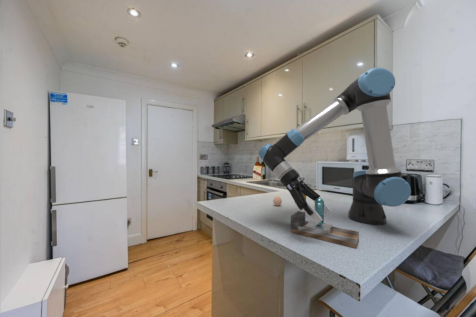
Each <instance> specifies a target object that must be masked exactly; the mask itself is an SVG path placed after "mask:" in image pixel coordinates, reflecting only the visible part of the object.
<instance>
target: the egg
mask: <svg viewBox="0 0 476 317" xmlns="http://www.w3.org/2000/svg"><path fill="white" fill-rule="evenodd" d="M272 201H273V204H274V205H275V206H276V207H279V206H280V205H282V202H283V200H282V197H281V196H279V195H275V196H274V197H273V200H272Z"/></svg>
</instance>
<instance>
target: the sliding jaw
mask: <svg viewBox="0 0 476 317" xmlns="http://www.w3.org/2000/svg"><path fill="white" fill-rule="evenodd" d="M324 204H325V201H324V199H323V198H321V197H319V198H317V199H316V200H315V203H314V210H315V211H316V212H317V213H318V215H319V216H320V217H321V218H322V219H323V220H322V221H320V222H319V223H318V224H316V223H315V222H314V221H313V220H310V221H309V223H308V224H306V228H309V229H314V230H318V231H323V232H327V233H331V231H332V226H333V224H330V223H327V222H326V223H324V222H325V218H324V217H325V214H324Z"/></svg>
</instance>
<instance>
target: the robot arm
mask: <svg viewBox="0 0 476 317" xmlns="http://www.w3.org/2000/svg"><path fill="white" fill-rule="evenodd" d="M395 86H396V78H395V75H394V74H393V72H391V71H390V70H389V69H386V68H384V67H372V68H369V69H368V70H367V71H365V72H363V73H361V74H360V76H359V77H357V78H356V79H355V80H354V81H353V82H351V83H350V84H349V85H348V86H347V87H346V88H345V89H344V90H343V91H342V92H341V93H339V95H337V96H336V97H335V98H333V102H331V103H330V104H329V105H327V106H326V107H324V108H323V109H321V110H320V111H319V112H316V113H315V114H314V115H312V116H311V117H310V118H309V119H307V120H306V121H304V122H303V123H301V124H300V125H299V126H297V127H296V128H291V129H290V130H289V131H287V133H285V134H284V135H283V136H282V137H281V138H280V139H279V140H278V141H276V142H275V143H274V144H271V143H266V144H264V145H263V146H262V147H260V149H259V150H258V157H259V158H260V159H261V160H262V162H263V163H264V164H265V165H266V166H267V167H268V169H269V170H270V172H272V173H273V174H274V177H275V178H277V179H278V180H279V181H280V183H281V184H282V185H283V186H284V187H285V189H286V190H287V191H288V192H289V194H290V195H291V197H292V199H293V201H294V202H295V204H296V206H297V207H298V209H299V211H302V210H304V211H303V212H305V214H306V215H307V216H309V218H310V219H311V221H314V222H315V223H316V224H318V223H319V222H320V221H322V220H323V219H322V218H321V217H320V216H319V215H318V213H317V212H316V211H315V208H313V206H312V205H311V204H310V203H309V204H308V201H307V198H309V199H310V200H312V201H313V203H314V204H315V200H316V199H317V198H321V195H320V194H319V193H318V192H316V191H315V190H313V188H312V187H310V186H309V185H308V184H306V183H305V182H304V181H303V180H302V179H300V180H299V177H300V174H299V173H298V172H297V171H296V170H295V169H294V168H293V166H292V165H291V164H290V163H289V162H288V161H287V160H286V159H285V158H287V156H289V155H290V154H291V153H292V152H294V151H295V150H296V149H297V148H298V147H300V146H301V145H302V144H303V143H304V142H305V141H307V140H308V139H310V138H311V137H313V136H314V135H316V134H317V133H319V131H321V130H323V129H324V128H326V127H327V126H328V125H330V124H331V123H333V122H335V121H336V120H337V119H339V118H340V117H341V116H344V115H349V114H350V113H351V112H353V111H355V110H358V111H359V112H360V113H361V120H362V126H363V135H364V141H365V142H364V143H365V149H366V155H367V164H368V169H367V170H356V171H354V172H353V174H352V203H351V204H350V208H349V209H348V212H347V214H348V216H347V217H348V218H349V219H350V220H353V221H355V222H358V223H362V224H366V225H367V224H369V225H378V226H379V225H386V224H387V216H386V212H385V210H384V208H383V206H385V207H394V208H395V207H400V206H402V205H404V204H405V203H406V202H407V201H408V200H409V199H410V197H411V194H412V190H411V188H412V187H411V186H410V185H411V184H410V183H409V182H408V181H407V180H405V179H404V178H403V176H402V171H401V169H399V168H398V167H396V164H395V163H396V162H395V155H394V150H393V149H394V148H393V142H392V136H391V126H390V121H389V115H388V114H389V113H388V105H389V104H390V103H391V102H392V101H391V92H392V91H393V90H394V88H395ZM303 194H305V195H306V197H307V198H306V199H305V197H304V195H303ZM331 211H332V210H331V209H330V208H329V207H328V205H326V203H324V216H327V214H328V213H330V212H331Z"/></svg>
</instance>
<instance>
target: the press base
mask: <svg viewBox="0 0 476 317" xmlns="http://www.w3.org/2000/svg"><path fill="white" fill-rule="evenodd" d="M309 222H310V221H309V220H306V212H305V211H302V210H298V211H296V212H294V213H293V214H291V215H290V233H291V234H292V233H293V234H296V235H301V236H304V237H307V238H308V237H309V238H313V239H315V240H316V239H317V240H321V241H325V242H328V243H332V244H336V245H342V246H345V247H348V248H353V249H357V247H358V243H359V239H360V238H359V237H360V233H359V232H360V231H358V230H353V229H348V228H342V227H338V226H334V225H332V231H331V233H327V232H323V231H318V230H314V229H309V228H306V224H308V223H309Z"/></svg>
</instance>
